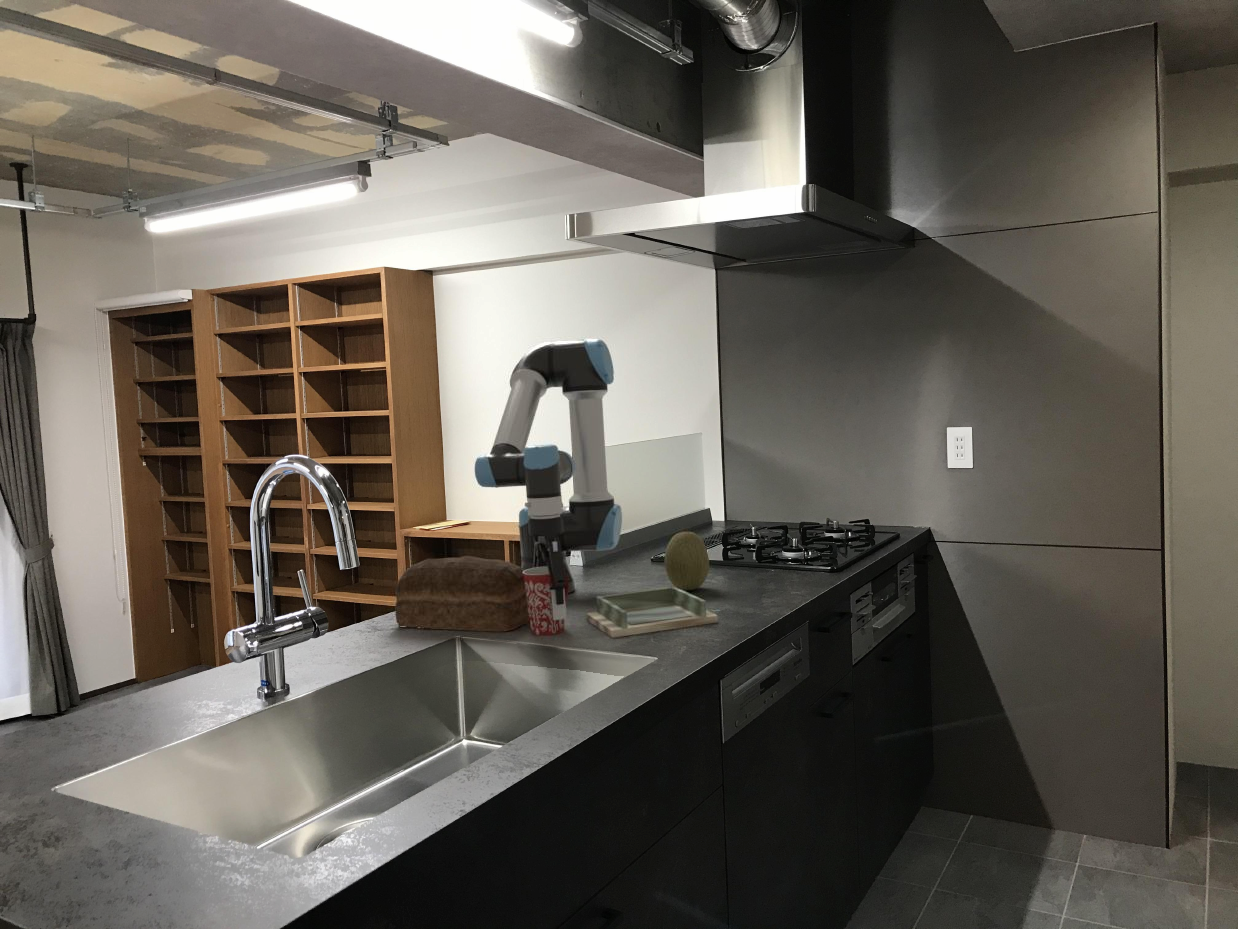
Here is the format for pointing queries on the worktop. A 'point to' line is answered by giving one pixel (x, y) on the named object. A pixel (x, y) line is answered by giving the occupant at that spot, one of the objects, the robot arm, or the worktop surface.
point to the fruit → (686, 561)
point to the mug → (541, 601)
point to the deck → (649, 612)
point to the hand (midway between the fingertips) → (551, 613)
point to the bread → (462, 595)
